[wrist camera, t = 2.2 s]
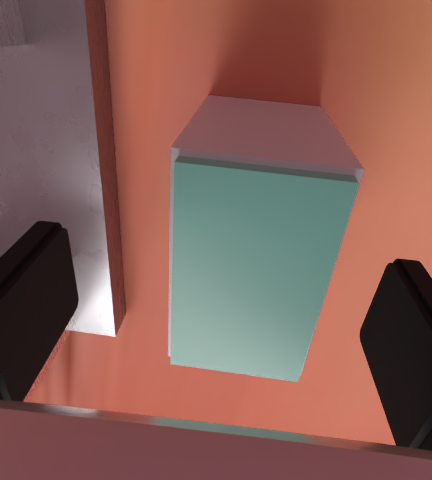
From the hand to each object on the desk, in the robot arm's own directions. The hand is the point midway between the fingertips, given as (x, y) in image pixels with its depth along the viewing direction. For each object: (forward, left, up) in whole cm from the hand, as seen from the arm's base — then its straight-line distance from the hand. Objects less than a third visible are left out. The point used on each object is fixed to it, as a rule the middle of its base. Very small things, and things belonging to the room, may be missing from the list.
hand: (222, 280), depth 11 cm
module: (-1, 0, -9) cm, 9 cm away
